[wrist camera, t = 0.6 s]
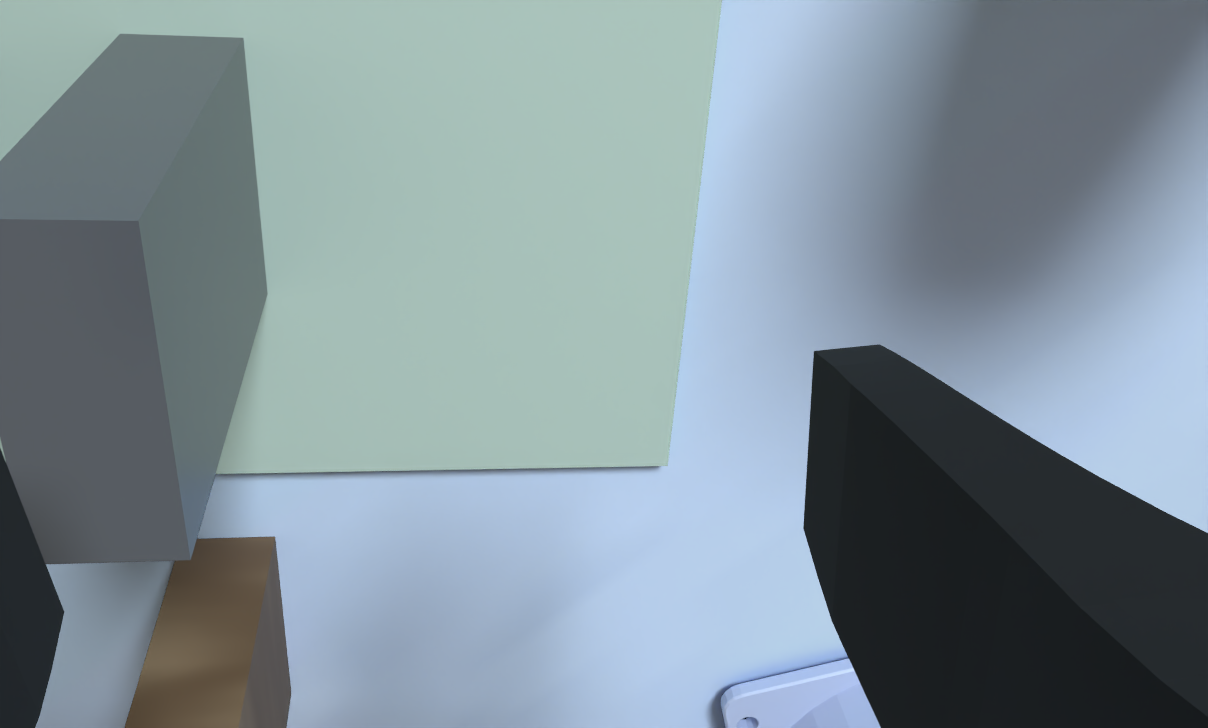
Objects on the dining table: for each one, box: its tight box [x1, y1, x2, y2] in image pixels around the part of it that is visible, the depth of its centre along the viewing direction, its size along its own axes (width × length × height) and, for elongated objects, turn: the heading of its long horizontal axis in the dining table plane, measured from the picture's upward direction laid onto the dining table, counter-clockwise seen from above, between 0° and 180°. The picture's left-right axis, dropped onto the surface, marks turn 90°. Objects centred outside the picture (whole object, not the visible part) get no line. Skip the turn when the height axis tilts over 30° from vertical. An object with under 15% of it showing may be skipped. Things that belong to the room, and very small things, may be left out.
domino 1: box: [0, 34, 268, 564], centre depth 15 cm, size 2×4×7 cm, turn 176°
